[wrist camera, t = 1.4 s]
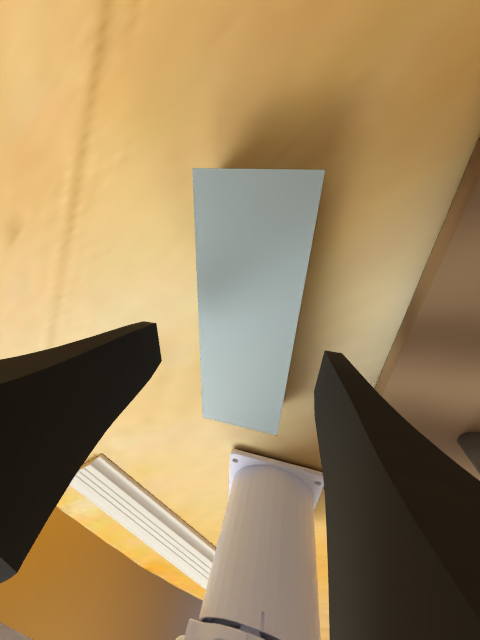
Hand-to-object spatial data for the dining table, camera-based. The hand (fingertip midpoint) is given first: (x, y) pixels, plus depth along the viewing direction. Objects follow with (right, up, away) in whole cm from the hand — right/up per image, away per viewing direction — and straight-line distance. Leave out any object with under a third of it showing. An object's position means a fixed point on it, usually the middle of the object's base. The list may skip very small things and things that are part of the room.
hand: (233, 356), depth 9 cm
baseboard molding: (-9, -28, +22) cm, 37 cm away
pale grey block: (+1, +2, +4) cm, 5 cm away
